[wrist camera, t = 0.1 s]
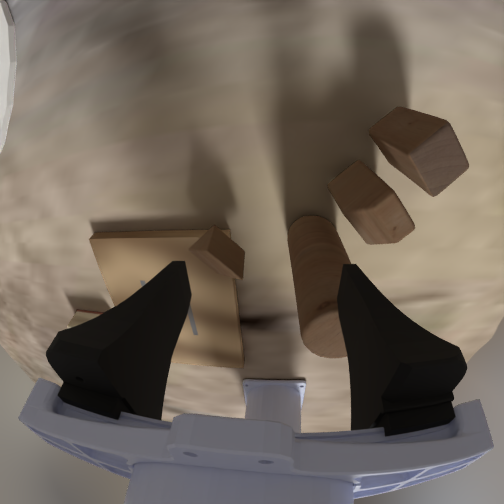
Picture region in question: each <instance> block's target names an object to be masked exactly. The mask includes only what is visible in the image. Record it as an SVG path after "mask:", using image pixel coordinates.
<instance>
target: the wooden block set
mask: <svg viewBox="0 0 504 504" xmlns="http://www.w3.org/2000/svg"><path fill="white" fill-rule="evenodd" d="M368 132H369V135H370V136H371V138H372V139H373V140H374V142H375V143H376V145H377V146H378V147H379V149H380V150H381V152H382V153H383V155H384V156H385V158H386V159H387V161H388V162H389V163H390V164H391V165H392V166H394V167H395V168H396V169H398V170H399V171H400V172H402V173H403V174H404V175H406V176H407V177H408V178H409V179H411V180H412V181H413V182H414V183H416V184H417V185H418V186H419V187H421V188H422V189H423V190H424V191H426V192H427V193H428V194H429V195H431V196H432V197H434V196H437V195H438V194H439V193H440V192H442V191H443V190H444V189H445V188H446V187H448V186H449V185H450V184H451V183H452V182H453V181H455V180H456V179H457V178H458V177H459V176H460V175H462V174H463V173H464V172H465V171H466V170H467V169H468V168H469V163H468V160H467V158H466V156H465V154H464V151H463V149H462V147H461V145H460V143H459V141H458V139H457V136H456V134H455V132H454V130H453V128H452V126H451V125H450V123H449V122H448V121H447V120H444V119H441V118H438V117H435V116H432V115H428V114H425V113H422V112H418V111H415V110H411V109H407V108H404V107H396V108H395V109H394V110H393V111H391V112H390V113H389V114H388V115H386V116H385V117H384V118H382V119H381V120H380V121H379V122H377V123H376V124H375V125H374V126H372V127H371V128H370V129H369V131H368ZM327 186H328V189H329V191H330V192H331V194H332V196H333V197H334V199H335V201H336V203H337V204H338V206H339V208H340V210H341V211H342V213H343V214H344V216H345V217H346V218H347V219H348V221H349V222H350V223H351V224H352V226H353V227H354V228H355V229H356V231H357V232H358V233H359V234H360V236H361V237H362V238H363V240H364V241H365V242H366V243H367V244H370V245H372V244H390V243H397V242H399V241H400V240H402V239H403V238H404V237H406V236H407V235H408V234H409V233H411V232H412V231H413V230H414V229H415V225H414V222H413V221H412V219H411V217H410V216H409V214H408V212H407V211H406V209H405V207H404V206H403V204H402V202H401V201H400V199H399V198H398V196H397V195H396V193H395V191H394V190H393V189H392V188H391V187H390V186H388V185H387V184H386V183H385V182H384V181H383V180H382V179H381V178H380V177H379V176H378V175H377V174H375V173H374V172H373V171H372V170H371V169H370V168H369V167H368V166H366V165H365V164H364V163H363V162H362V161H360V160H358V161H356V162H355V163H353V164H352V165H351V166H350V167H348V168H347V169H346V170H345V171H343V172H342V173H341V174H340V175H338V176H337V177H336V178H335V179H333V180H332V181H331V182H330V183H329V184H328V185H327ZM288 247H289V253H290V260H291V267H292V274H293V281H294V288H295V295H296V302H297V309H298V317H299V325H300V332H301V338H302V340H303V343H304V345H305V346H306V347H307V348H308V349H309V350H310V351H311V352H312V353H314V354H316V355H318V356H321V357H326V358H342V357H347V352H346V347H345V342H344V338H343V334H342V329H341V325H340V320H339V314H338V304H337V295H338V290H339V285H340V279H341V273H342V267H343V264H351V262H350V260H349V258H348V255H347V253H346V251H345V248H344V246H343V244H342V242H341V239H340V237H339V235H338V233H337V231H336V229H335V227H334V226H333V224H332V223H330V222H329V221H328V220H327V219H325V218H322V217H320V216H314V215H308V216H303V217H301V218H299V219H298V220H296V221H295V222H294V223H293V224H292V225H291V226H290V229H289V231H288ZM188 250H189V251H190V252H191V253H192V254H194V255H195V256H196V257H197V258H199V259H200V260H201V261H202V262H203V263H205V264H206V265H207V266H208V267H210V268H211V269H212V270H213V271H215V272H216V273H217V274H221V275H224V276H228V277H232V278H236V279H240V280H242V279H243V270H244V257H245V251H244V250H243V249H242V248H240V247H239V246H238V245H237V244H236V243H235V242H234V241H233V240H231V239H230V238H229V237H228V236H227V235H226V234H225V233H223V232H222V231H221V230H220V229H219V228H218V227H217V226H216V225H214V226H212V227H211V228H210V229H209V230H208V231H207V232H206V233H205V234H204V235H203V236H202V237H201V238H200V239H198V240H197V241H196V242H195V243H194V244H193V245H192V246H191V247H190V248H189V249H188Z"/></svg>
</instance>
